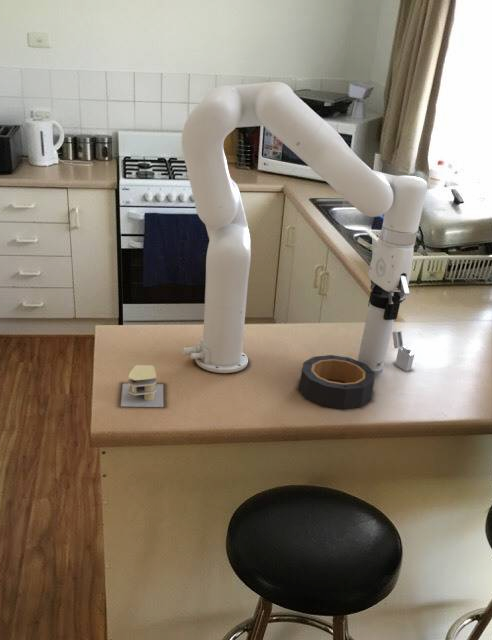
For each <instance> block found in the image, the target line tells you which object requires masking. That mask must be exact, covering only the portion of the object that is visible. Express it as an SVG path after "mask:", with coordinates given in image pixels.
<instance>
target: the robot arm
mask: <svg viewBox="0 0 492 640" xmlns="http://www.w3.org/2000/svg"><path fill="white" fill-rule="evenodd" d="M250 127H251V128H252V127H264V128H265V129H266V130H267V131H269V133H270V134H272V135H273V137H275V138H276V139H277V140H279V142H281V143H282V144H283V145H285V146H286V147H287V149H289V150H290V151H292V152H293V153H294V154H295V155H296V156H297V157H298V158H299V159H300V160H301V161H303V162H304V163H305V164H306V165H307V166H308V167H309V168H310V169H311V170H312V171H313V172H314V173H315V174H316V175H318V176H319V177H320V178H321V179H323V180H324V181H325V183H327V184H328V185H329V186H330V187H332V189H334V191H336V192H337V194H339V195H340V196H341V197H342V198H343V199H345V200H346V201H347V202H348V203H349V204H351V205H352V206H353V208H355V209H356V210H357V211H359V212H360V213H361V214H363V215H365V216H367V217H370V218H377V217H381V216H383V215H384V216H383V221H382V225H381V230H380V235H379V236H378V239H377V242H376V244H375V247H374V250H373V253H372V257H371V262H370V264H369V269H368V274H367V275H368V278H369V280H370V287H369V288H370V293H369V294H370V295H369V300H368V303H367V308H368V307H369V302H370V299H371V294H372V292H373V291H374V290H376V289H384V290H385V291H387V292H389V303H386V308H385V312H384V317H383V319H384V320H394V321H395V320H397V319H398V314H399V310H400V307H401V304H403V302H404V301H405V300H406V299H407V298H408V297H409V296H410V294H411V293H410V288H409V283H410V279H411V275H412V268H413V262H414V250H415V245H416V240H417V235H418V230H419V227H420V222H421V217H422V215H423V214H422V213H423V209H424V206H425V205H424V204H425V200H426V195H427V191H428V184H427V181H426V180H425V179H423V178H421V177H417V176H413V175H394V174H389V173H385V172H382V171H378V170H373V169H371V167H369V166H368V165H367V164H366V163H365V162H364V161H363V160H362V159H361V158H360V157H359V155H357V154H356V153H355V152H354V151H353V150H352V148H351V147H350V146H349V145H348V144H347V143H346V141H345V139H344V138H343V137H342V136H341V134H340V133H339V132H338V131H337V130H336V129H335V128H334V127H332V126H331V125H330V124H329V123H328V122H327V121H326V120H325V119H323V118H322V116H320V115H319V114H318V113H317V112H315V111H314V110H313V109H312V108H311V107H310V106H309V105H308V104H307V103H306V102H304V101H303V99H301V98H300V97H299V96H298V95H297V94H296V93H295V92H294V91H293V89H292V88H291V87H290V86H289V85H288V84H286V83H285V82H281V81H269V82H267V81H266V82H258V83H245V84H229V85H227V84H226V85H219V86H216V87H214V88H211V89H210V90H209V91H208V92H207V93H205V95H204V97H203V98H202V99H201V101H199V103H198V104H197V105H195V107H194V108H193V109H192V111H191V112H190V113H189V115H188V116H187V118H186V120H185V122H184V125H183V128H182V133H181V151H182V155H183V160H184V165H185V167H186V171H187V177H188V182H189V185H190V188H191V193H192V196H193V200H194V207H195V211H196V213H197V216H198V218H199V219H200V220H201V222H202V223H203V224H204V225H205V228H206V232H207V237H208V241H209V242H208V245H207V251H206V256H205V289H204V292H205V293H204V311H203V312H204V313H203V330H202V333H203V334H202V340H200V341H198V345H195V346H194V347H193V346H192V347H191V346H190V347H188V346H187V347H182V351H181V353H182V356H183V357H189V356H190V359H191V360H194V361H195V363H196V365H197V366H198V367H200V368H201V369H203V370H205V371H208V372H212V373H215V374H231V373H238V372H240V371H242V370H244V369H246V367H247V366H248V363H249V357H248V356H247V355H246V354H245V353H244V352H243V346H244V333H245V323H246V310H247V299H248V298H247V297H248V286H249V276H250V268H251V260H252V259H251V258H252V257H251V256H252V241H251V234H250V230H249V229H250V228H249V224H248V220H247V216H246V212H245V208H244V204H243V200H242V195H241V193H240V189H239V187H238V184H237V183H236V182H235V180H233V179H232V177H231V175H230V171H229V166H228V161H227V157H226V154H225V150H224V144H225V139H227V136H228V135H229V134H231V133H232V132H234V130H235V129H236V128H250ZM394 292H397V295H396V296H395V297H394Z"/></svg>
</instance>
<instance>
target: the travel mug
mask: <svg viewBox="0 0 492 640" xmlns="http://www.w3.org/2000/svg"><path fill="white" fill-rule="evenodd" d="M370 294H371V293H370ZM396 295H397V292H394V297H395V296H396ZM369 299H370V298H369ZM386 303H389V292H387V291H385V290H384V289H376V290H374V291H373V292H372V294H371V299H370V302H369V301H368V304H369V307H368V306H367V312H366V317H365V322H364V327H363V332H362V336H361V337H362V338H361V341H360V347H359V352H358V355H357V361H359V362H362V363H364V364H366V365H367V366H368V367H369V368H370V369H371V370H372V371H373V372H374V373H375V375H380V374H382V373H383V371H384V366H385V362H386V358H387V353H388V349H389V344H390V340H391V335H392V332H393V327H394V323H395V320H384V319H383V317H384V312H385V308H386ZM375 375H374V376H375Z"/></svg>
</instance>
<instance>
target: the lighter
mask: <svg viewBox="0 0 492 640" xmlns="http://www.w3.org/2000/svg"><path fill="white" fill-rule="evenodd" d="M391 335H392V341H393V348H394V349H397V352H396V353H397V354H396V358H395V364H394V365H395V366H397V367H399V368H400V369H402V370H403V371H404V372H409V371H411V370H412V368H413V362H414V359H415V353H413V352H412V348H410V347H409V346H407V345H404V341H403V333H402V330H395V331H392V332H391Z"/></svg>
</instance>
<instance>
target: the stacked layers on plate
mask: <svg viewBox="0 0 492 640" xmlns="http://www.w3.org/2000/svg"><path fill="white" fill-rule="evenodd" d="M121 389H122V391H121V399H120V407H125V408H127V407H128V408H129V407H130V408H131V407H133V408H134V407H135V408H136V407H137V408H164V384H162V383H160V384H159V383H157V371H156V369H155V365H151V364H150V365H148V364H147V365H142V364H136V365H134V366H133V368H132V369H131V370H130V372H129V374H128V383H122V388H121Z"/></svg>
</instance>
